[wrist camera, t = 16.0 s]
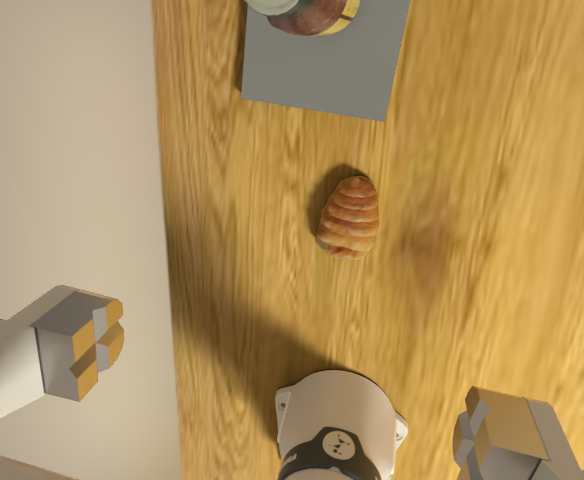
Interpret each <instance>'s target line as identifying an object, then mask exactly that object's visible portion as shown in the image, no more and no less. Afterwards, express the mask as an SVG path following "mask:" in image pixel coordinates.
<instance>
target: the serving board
mask: <svg viewBox="0 0 584 480" xmlns="http://www.w3.org/2000/svg"><path fill="white" fill-rule="evenodd" d="M409 4H410V0H360V4H359V7H358V10H357V13H356V15H355V17H354V18H353V20H352V21H350V23H349V24H348V25H347V26H346V27H345V28H343V29H342V30H340V31H338V32H336V33H333V34H329V35H315V36H300V35H293V34H289V33H286V32H284V31H282V30H280V29H278V28H275V27H273V26H272V25H271V24H270V23H269V21H268V19H267V16H265V15H262V14H259V13H257V12H255V11H254V10H253V9H251V8H250V7H249V6H248V9H247V23H246V36H245V50H244V64H243V77H242V91H241V98H243V99H249V100H255V101H262V102H268V103H274V104H280V105H286V106H292V107H298V108H304V109H310V110H316V111H322V112H328V113H334V114H340V115H346V116H352V117H358V118H364V119H370V120H376V121H382V122H384V121H385V116H386V112H387V107H388V102H389V98H390V93H391V88H392V84H393V79H394V74H395V70H396V65H397V60H398V56H399V51H400V46H401V42H402V37H403V32H404V28H405V23H406V18H407V14H408V9H409Z"/></svg>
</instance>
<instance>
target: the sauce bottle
mask: <svg viewBox="0 0 584 480" xmlns="http://www.w3.org/2000/svg"><path fill="white" fill-rule="evenodd" d="M244 1H245V2H246V3H247V5H248V6H249V7H250V8H251V9H253V10H254V11H255V12H257V13H259V14H262V15H265V16H267V19H268V21H269V23H270V24H271V25H272V26H273V27H275V28H278V29H280V30H282V31H284V32H286V33H289V34H293V35H300V36H315V35H329V34H333V33H336V32H338V31H340V30H342V29H343V28H345V27H346V26H347V25H348V24H349V23H350V21H352V20H353V18H354V17H355V15H356V13H357V10H358V7H359V4H360V0H244Z"/></svg>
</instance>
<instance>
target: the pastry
mask: <svg viewBox="0 0 584 480" xmlns="http://www.w3.org/2000/svg"><path fill="white" fill-rule="evenodd" d="M378 227H379V214H378V197H377V192H376V190H375V187H374V185H373V183H372V181H371V180H370V179H369V178H366V177H363V176H351V177H349V178H346V179H344V180H342V181H340V182H339V184H338V186H337V188H336V189H335V191H334V192H333V193H332V194H331V195H330V197H329V199H328V202H327V204H326V205H325V206H324V208H323V209H322V210H321V219H320V223H319V227H318V228H317V236H316V238H315V241H316V243H317V244H318V245H319V247H320V248H321V249H322V250H324V252H325V253H327V254H329V255H331V256H334V257H337V258H340V259H343V260H347V259H350V260H358V259H361V258H364V257H366V256H367V255H368V252H369V250H370V249H371V248H372V247H373V245H374V243H375V241H376V234H377V230H378Z"/></svg>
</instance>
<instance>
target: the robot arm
mask: <svg viewBox="0 0 584 480" xmlns="http://www.w3.org/2000/svg"><path fill="white" fill-rule="evenodd" d="M122 315H123V309H122V303H121V302H120V301H119V300H118V299H115V298H111V297H107V296H103V295H100V294H96V293H92V292H89V291H85V290H79V289H76V288H73V287H69V286H65V285H60V286H56V287H54V288H53V289H51V290H50V291H48V292H47V293H46V294H44V295H43V296H41V297H40V298H39V299H37V300H36V301H34V302H33V303H31V304H30V305H28V306H27V307H26V308H24V309H23V310H21V311H20V312H18V313H17V314H16V315H14V316H13V317H11V318H10V319H8V320H3V319H0V418H1V417H3V416H5V415H7V414H9V413H11V412H13V411H15V410H17V409H19V408H21V407H23V406H24V405H26V404H28V403H30V402H32V401H34V400H36V399H38V398H40V397H42V396H44V393H46V394H50V395H54V396H58V397H62V398H66V399H70V400H74V401H78V402H80V401H81V400H82V398H84V396H85V395H86V394H87V393H88V392H89V391H90V390H91V389H92V387H93V386H94V385H95V384H96V383H97V382H98V373H99V372H101V371H104V370H106V369H109V368H110V367H111V366H112V365H113V364H114V362H115V361H116V360H117V358H118V356H119V354H120V352H121V350H122V347H123V342H124V330H123V328H122V327H121V325H120V324H119V322H118V320H119V319H120V318H121V316H122ZM465 402H466V407H467V411H465V412H463V413H461V414H459V416H458V419H457V421H456V424H455V428H454V434H453V456H454V461H455V462H456V463H457V464H458V466H459V467H460V468H461V471H460V473H459V475H458V478H457V480H584V470H581V469H580V467H579V465H578V462H577V460H576V458H575V456H574V454H573V451H572V449H571V447H570V445H569V443H568V440H567V438H566V436H565V434H564V431H563V429H562V427H561V425H560V423H559V420H558V418H557V416H556V414H555V411H554V409H553V407H552V406H551V405H550V404H549V403H548V402H544V401H539V400H535V399H530V398H525V397H518V396H514V395H509V394H505V393H501V392H497V391H493V390H488V389H484V388H480V387H476V386H472V387H471V389H470V390H469V391H468V394H467V396H466V398H465ZM283 403H284V404H283ZM275 404H276V414H277V424H278V437H277V442H278V443H279V450H280V456H281V462H282V466H281V468H280V471H279V474H278V480H391V477H392V474H393V473H394V469H395V454H396V450H397V449H398V447H399V446H400V444H401V443H402V441H403V440H404V438H405V437H406V435H407V433H408V427H409V426H408V423H407V422H406V421H405V420H404V419H403V418H402V417H401V416H400V415H399V414H398V413H396V412H395V410H394V409H393V407H392V405H391V403H390V401H389V399H388V397H387V396H386V395H385V393H384V392H383V391H382V390H381V389H380V388H379V387H378V386H377V385H376V384H374V383H373V382H371V381H370V380H368V379H366V378H364V377H362V376H360V375H357V374H354V373H351V372H347V371H340V370H326V371H320V372H316V373H313V374H311V375H309V376H307V377H305V378H304V379H302V380H301V381H300V382H298V383H297V384H295V385H293V386H289V387H285V388H281V389H279V390H278V391H277V392H276V396H275ZM0 480H78V479H75V478H72V477H68V476H65V475H62V474H58V473H56V472H52V471H49V470H45V469H42V468H39V467H36V466H33V465H30V464H26V463H23V462H20V461H17V460H13V459H10V458H7V457H4V456H0Z"/></svg>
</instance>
